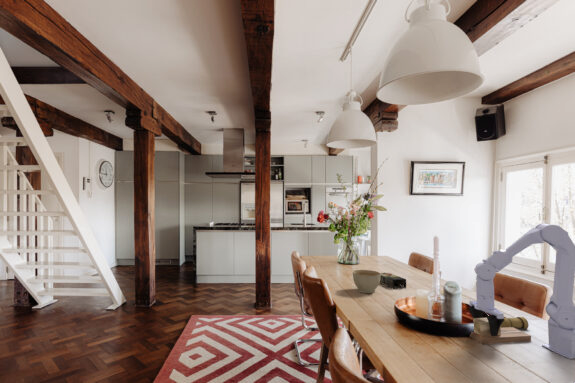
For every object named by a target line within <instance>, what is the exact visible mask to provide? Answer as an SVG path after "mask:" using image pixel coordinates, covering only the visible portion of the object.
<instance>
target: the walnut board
mask: <svg viewBox="0 0 575 383" xmlns="http://www.w3.org/2000/svg"><path fill="white" fill-rule="evenodd" d="M469 338H472V339H473V340H475V341H477V343H480V344H482V345H487V344H488V345H491V344H506V343H507V344H508V343H520V342H521V343H522V342H532V335H530V334H528V333H526V332H523V331H522V330H520V329H519V328H513V327H505V328H501V335H497V336H491V335H490V336H480V335H479V334H477V333H475V332H471V334H470V336H469Z"/></svg>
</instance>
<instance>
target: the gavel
mask: <svg viewBox="0 0 575 383" xmlns="http://www.w3.org/2000/svg"><path fill="white" fill-rule="evenodd" d="M487 314H488V315H489V316H492V315H491V314H489V313H487ZM529 326H530V325H529V322H528V320H527V318H525V317H524V316H517V317H506V316H504V321H503V323H502V324H501V328H505V327H513V328H516V329H524V330H527V329H528V328H529Z"/></svg>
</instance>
